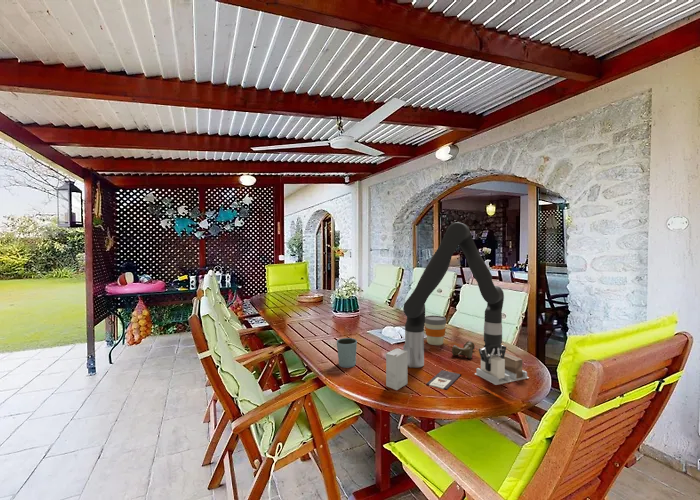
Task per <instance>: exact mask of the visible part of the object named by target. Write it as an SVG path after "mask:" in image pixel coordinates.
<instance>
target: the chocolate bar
mask: <svg viewBox="0 0 700 500" xmlns="http://www.w3.org/2000/svg"><path fill="white" fill-rule="evenodd" d="M461 375H462V374H461V373H457V372H451V371H448V370H444V369H441V370H440V371H439V372H438V373H437V374H436V375H435V376H433V377H432V378H431V379H430V380H429V381H428V382H426V386H430V387H434V388H437V389H441V390H446V391H447V390H448V389H449V388H450V387H452V385H453V384H455V382H456V381H457V380H458V379H459V378H460V377H461Z"/></svg>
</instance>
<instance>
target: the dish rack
mask: <svg viewBox="0 0 700 500" xmlns="http://www.w3.org/2000/svg"><path fill="white" fill-rule="evenodd" d="M475 370H476V372H475V373H474V375H476V376H477V377H479V378H482V379H484V380H485V381H487V382H489V383H492V384H493V385H495V386H497V385H502V384H507V383H511V382H516V381H522V380H526V379H529V378H530V377H529V376H528V372H527V371H526V370H523V369H522V378H517V379H516V375H517V374H515V373H513V372H511V371H508V370H506V369H505V378H501V379H499V378H498V377H496V376H494V375H492V374H490V373H488V372H486V371H484V370H482V369H481V367H480V368H479V367H477V368H476V369H475Z"/></svg>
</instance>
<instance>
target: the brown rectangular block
mask: <svg viewBox="0 0 700 500" xmlns="http://www.w3.org/2000/svg"><path fill="white" fill-rule="evenodd" d="M501 356H502V353H501ZM504 359H505V369H506V370H508V371H511V372H513V373H515V374H517V375H516V379H517V378H522V370H523V359H522V358H520V357H517V356H515V355H512V354H510V353H507V352H505V356H504Z"/></svg>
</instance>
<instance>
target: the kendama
mask: <svg viewBox="0 0 700 500" xmlns="http://www.w3.org/2000/svg"><path fill="white" fill-rule="evenodd" d="M475 347H476V346H475V343H474V342H473V341H470V340H469V341H466V342H465V343H464V344H463V347H460V346H458V345H456V344H454V345H453V346H452V347H451V348H452V349H451V353H452V356H465V357H466V358H468V359H469V360H471V359H472V358H473V354H474V353H473V352H474V350H475Z"/></svg>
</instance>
